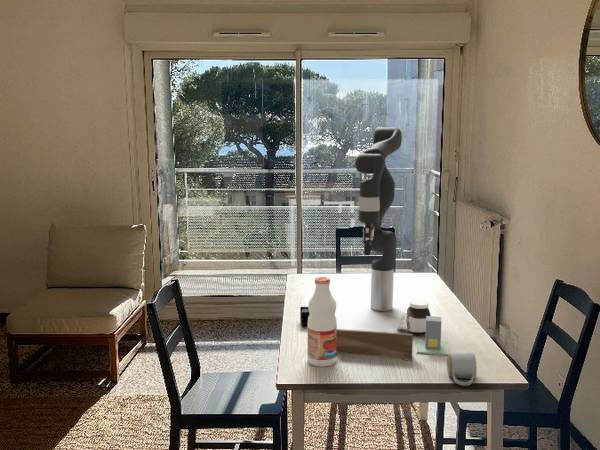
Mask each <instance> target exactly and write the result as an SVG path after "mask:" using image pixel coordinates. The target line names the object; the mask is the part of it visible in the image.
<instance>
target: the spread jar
mask: <svg viewBox="0 0 600 450" xmlns="http://www.w3.org/2000/svg"><path fill="white" fill-rule="evenodd" d="M429 305H430V303H429V302H428V301H427V300H423V299H412V300H410V301H409V307H408V308H407V310H406V312H402V315H401V317H400V320H399V322H398V324H397V326H396V327H397V328H396V329H397V330H398V331H401V330H402V327H403V324H404V322H405V320H406V323H405V324H406V330H407V331H408V334H413V336H417V335H422V336H425V335H426V316H432V315H431V311H430V309H429Z"/></svg>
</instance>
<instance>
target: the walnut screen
mask: <svg viewBox="0 0 600 450" xmlns="http://www.w3.org/2000/svg"><path fill="white" fill-rule="evenodd" d="M413 336H414V335H413V334H410V333H402V332H387V331H386V332H385V331H374V330H372V331H371V330H361V329H360V330H357V329H346V328H345V329H343V328H337V331H336V356H342V355H343V354H351V355H353V354H354V355H365V356H378V357H392V358H403V360H404V361H412V359H413V341H414V340H413V339H414V337H413Z"/></svg>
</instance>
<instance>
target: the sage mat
mask: <svg viewBox="0 0 600 450" xmlns="http://www.w3.org/2000/svg"><path fill="white" fill-rule="evenodd" d="M450 352H451V351H450V345H449V341H448V340H441V343H440V349H427V348H425V338H422V339H421V338H416V354H421V355H432V354H435V355H436V356H445V355H449V354H451V353H450Z"/></svg>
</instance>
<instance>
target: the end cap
mask: <svg viewBox="0 0 600 450" xmlns="http://www.w3.org/2000/svg"><path fill="white" fill-rule="evenodd" d="M299 313H300V314H299V318H300V319H299V321H300V323H301V324H300V327H301V328H308V317H309V315H310V313H309V309H308V306H300V307H299Z"/></svg>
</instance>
